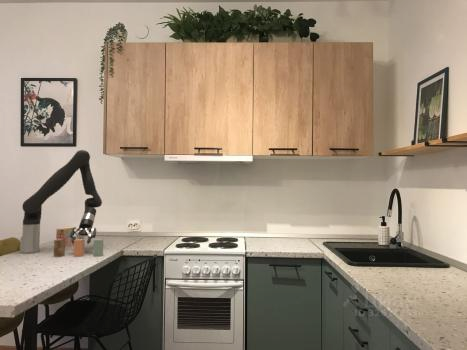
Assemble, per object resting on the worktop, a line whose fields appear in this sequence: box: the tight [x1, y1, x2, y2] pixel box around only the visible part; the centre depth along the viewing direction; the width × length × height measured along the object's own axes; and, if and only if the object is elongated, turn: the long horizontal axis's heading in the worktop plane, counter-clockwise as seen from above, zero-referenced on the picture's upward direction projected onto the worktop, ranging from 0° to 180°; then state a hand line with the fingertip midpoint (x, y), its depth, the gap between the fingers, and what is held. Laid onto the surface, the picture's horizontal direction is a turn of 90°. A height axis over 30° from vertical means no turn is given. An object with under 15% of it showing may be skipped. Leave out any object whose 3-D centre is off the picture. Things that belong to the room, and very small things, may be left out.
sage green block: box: [92, 238, 104, 257], centre depth 191 cm, size 4×4×10 cm
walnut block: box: [53, 239, 66, 258], centre depth 188 cm, size 4×4×10 cm
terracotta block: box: [73, 238, 85, 258], centre depth 189 cm, size 4×4×10 cm
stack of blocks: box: [55, 226, 85, 248], centre depth 226 cm, size 21×6×12 cm, turn 169°
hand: (80, 243), depth 191 cm, fingers open, 8 cm apart
